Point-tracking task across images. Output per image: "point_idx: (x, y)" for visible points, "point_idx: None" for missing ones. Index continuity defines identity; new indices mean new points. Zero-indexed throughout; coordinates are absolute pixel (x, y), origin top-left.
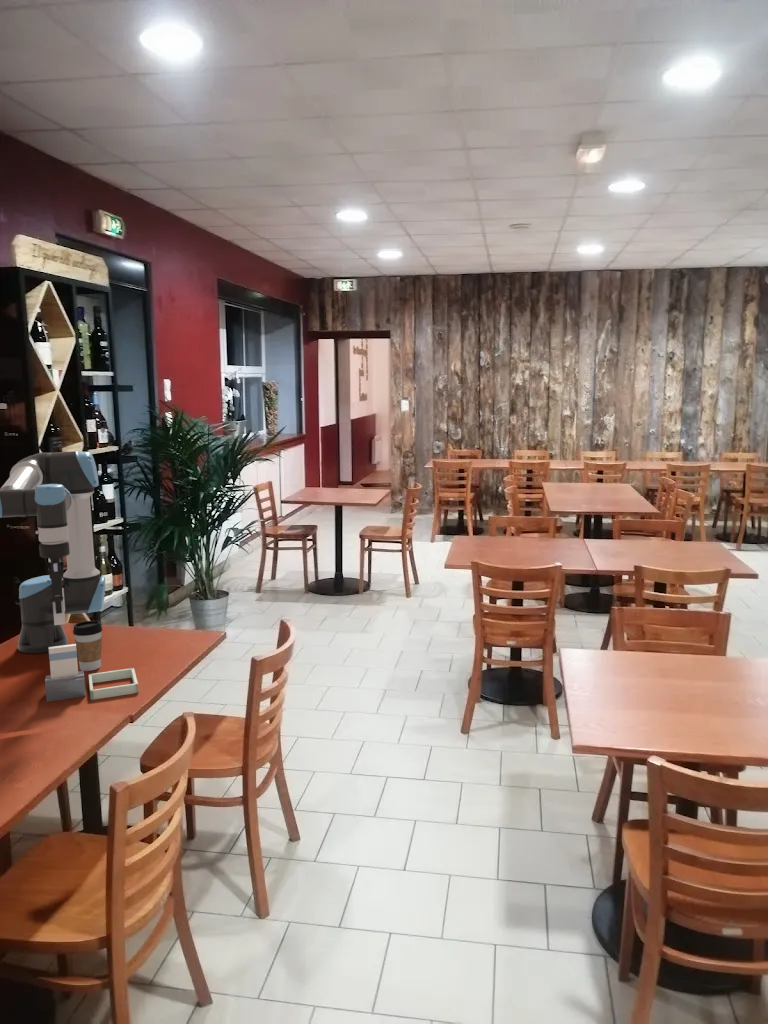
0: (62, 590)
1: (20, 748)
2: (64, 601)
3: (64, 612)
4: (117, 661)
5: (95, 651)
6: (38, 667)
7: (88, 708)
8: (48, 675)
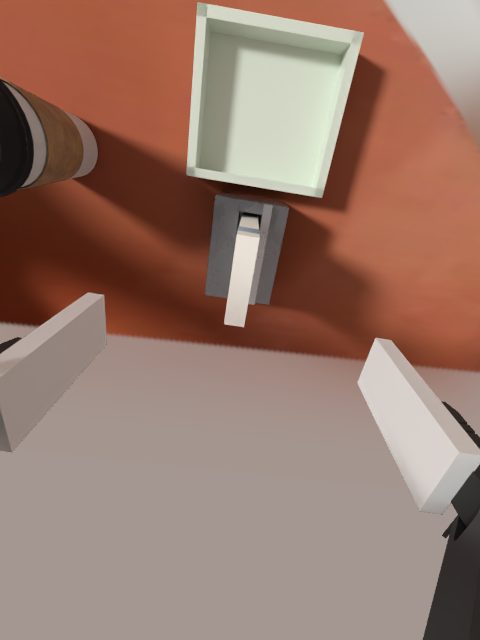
0: (9, 378)
1: (440, 352)
2: (59, 317)
3: (424, 382)
4: (11, 40)
5: (61, 123)
6: (10, 267)
7: (343, 207)
8: (207, 288)
